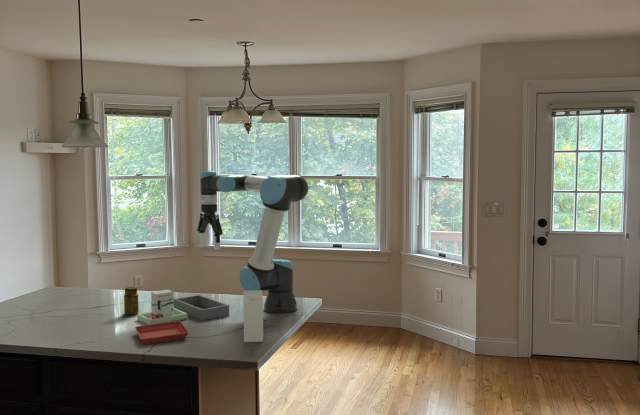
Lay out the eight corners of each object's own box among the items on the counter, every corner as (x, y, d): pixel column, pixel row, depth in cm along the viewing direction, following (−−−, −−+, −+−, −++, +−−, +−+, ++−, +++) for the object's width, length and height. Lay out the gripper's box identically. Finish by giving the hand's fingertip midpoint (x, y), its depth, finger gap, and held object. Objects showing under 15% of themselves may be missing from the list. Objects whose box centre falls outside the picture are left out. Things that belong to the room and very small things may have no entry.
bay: (229, 315, 263) (229, 305, 263) (202, 320, 254) (201, 310, 254) (199, 304, 284) (199, 294, 283) (173, 308, 275) (173, 299, 275)
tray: (187, 319, 257) (187, 313, 256) (150, 326, 246) (150, 320, 246) (174, 313, 266) (173, 307, 266) (137, 320, 256) (137, 314, 255)
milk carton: (244, 337, 230) (244, 288, 228) (263, 336, 230) (262, 288, 229) (244, 342, 223) (243, 292, 221) (263, 342, 223) (262, 292, 222)
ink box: (155, 321, 251) (154, 293, 250) (151, 318, 255) (150, 291, 254) (174, 317, 256) (174, 291, 255) (170, 315, 260) (169, 289, 259)
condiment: (139, 311, 270) (138, 285, 269) (140, 316, 262) (139, 289, 261) (122, 313, 267) (121, 287, 266) (123, 318, 259) (122, 290, 259)
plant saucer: (140, 347, 220) (140, 338, 219) (134, 334, 236) (134, 326, 236) (189, 340, 227) (189, 332, 227) (180, 328, 243) (180, 320, 243)
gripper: (189, 202, 289) (190, 245, 291) (215, 205, 270) (216, 251, 272) (203, 201, 294) (204, 244, 296) (229, 204, 275) (230, 249, 276)
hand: (210, 247), depth 284 cm, fingers open, 13 cm apart
